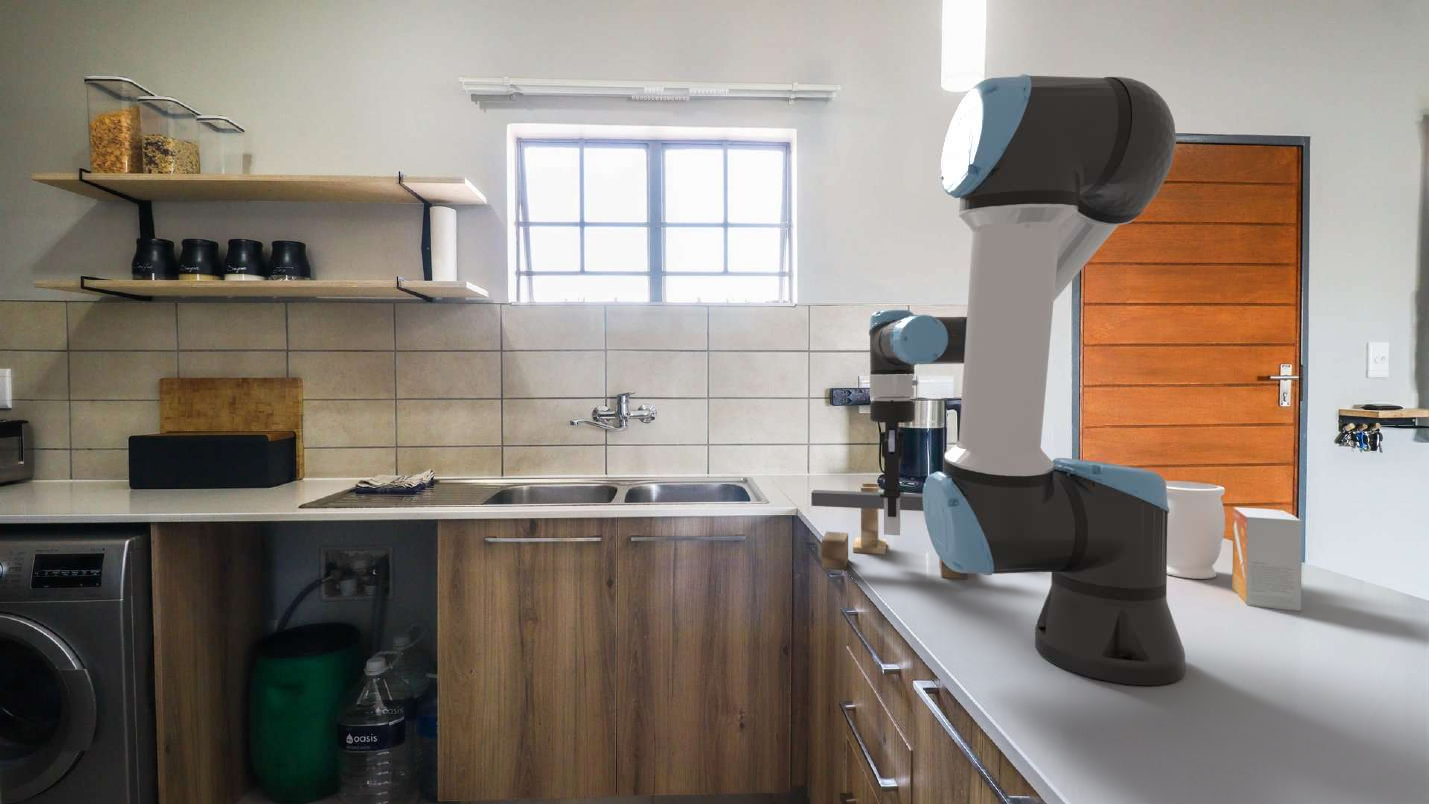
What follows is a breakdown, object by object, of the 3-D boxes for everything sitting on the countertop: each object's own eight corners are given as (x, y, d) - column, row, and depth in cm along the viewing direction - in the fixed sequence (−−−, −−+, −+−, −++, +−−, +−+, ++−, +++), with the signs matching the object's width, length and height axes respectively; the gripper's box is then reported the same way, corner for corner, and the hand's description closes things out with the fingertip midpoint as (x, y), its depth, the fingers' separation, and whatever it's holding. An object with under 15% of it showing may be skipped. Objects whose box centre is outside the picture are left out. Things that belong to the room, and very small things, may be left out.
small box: (1231, 589, 100) (1232, 506, 100) (1283, 595, 97) (1285, 509, 97) (1245, 605, 93) (1246, 516, 93) (1302, 612, 90) (1303, 520, 90)
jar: (1151, 576, 107) (1151, 487, 106) (1143, 561, 116) (1143, 478, 116) (1231, 585, 102) (1232, 491, 102) (1216, 568, 111) (1217, 482, 111)
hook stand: (998, 550, 124) (998, 486, 124) (1004, 561, 117) (1004, 493, 116) (856, 542, 132) (855, 481, 132) (853, 552, 124) (852, 488, 124)
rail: (976, 510, 111) (976, 496, 111) (978, 513, 108) (978, 499, 108) (813, 502, 119) (813, 489, 119) (811, 505, 116) (811, 492, 116)
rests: (963, 567, 113) (963, 539, 113) (966, 578, 107) (966, 549, 107) (826, 558, 120) (826, 531, 120) (821, 568, 114) (821, 540, 113)
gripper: (915, 401, 104) (915, 544, 105) (913, 398, 119) (913, 523, 120) (867, 401, 106) (867, 541, 107) (872, 398, 121) (872, 521, 122)
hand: (892, 531), depth 113 cm, fingers closed on rail, 3 cm apart
